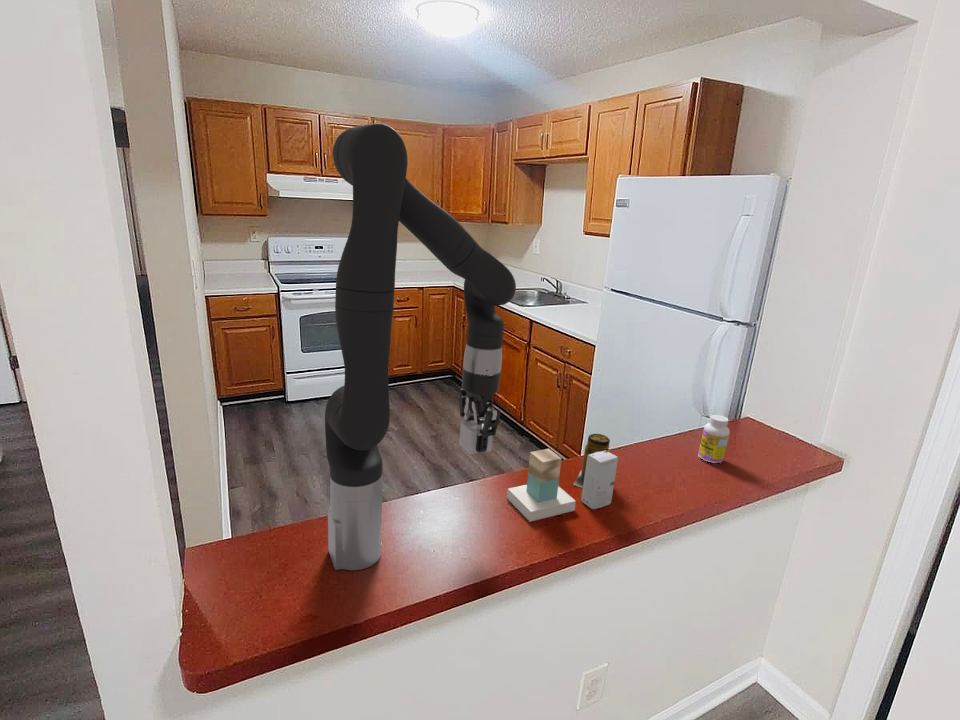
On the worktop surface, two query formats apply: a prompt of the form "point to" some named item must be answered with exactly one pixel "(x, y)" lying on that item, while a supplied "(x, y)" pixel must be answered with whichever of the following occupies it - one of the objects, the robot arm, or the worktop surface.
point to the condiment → (593, 445)
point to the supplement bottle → (714, 439)
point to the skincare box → (599, 479)
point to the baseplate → (540, 503)
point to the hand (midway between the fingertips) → (475, 445)
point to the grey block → (471, 437)
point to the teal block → (542, 489)
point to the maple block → (544, 465)
